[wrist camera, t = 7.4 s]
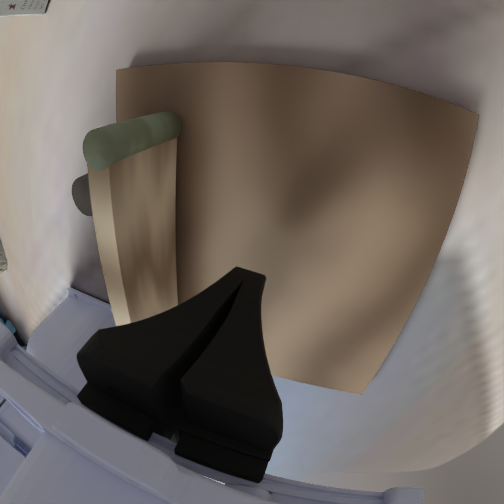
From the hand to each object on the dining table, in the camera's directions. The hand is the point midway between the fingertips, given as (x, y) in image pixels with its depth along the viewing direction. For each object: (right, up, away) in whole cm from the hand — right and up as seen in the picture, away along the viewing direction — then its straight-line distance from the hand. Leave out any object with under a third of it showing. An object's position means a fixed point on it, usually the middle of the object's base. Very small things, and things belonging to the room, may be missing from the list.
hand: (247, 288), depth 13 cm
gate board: (+1, +2, +4) cm, 5 cm away
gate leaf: (-5, +2, +4) cm, 7 cm away
